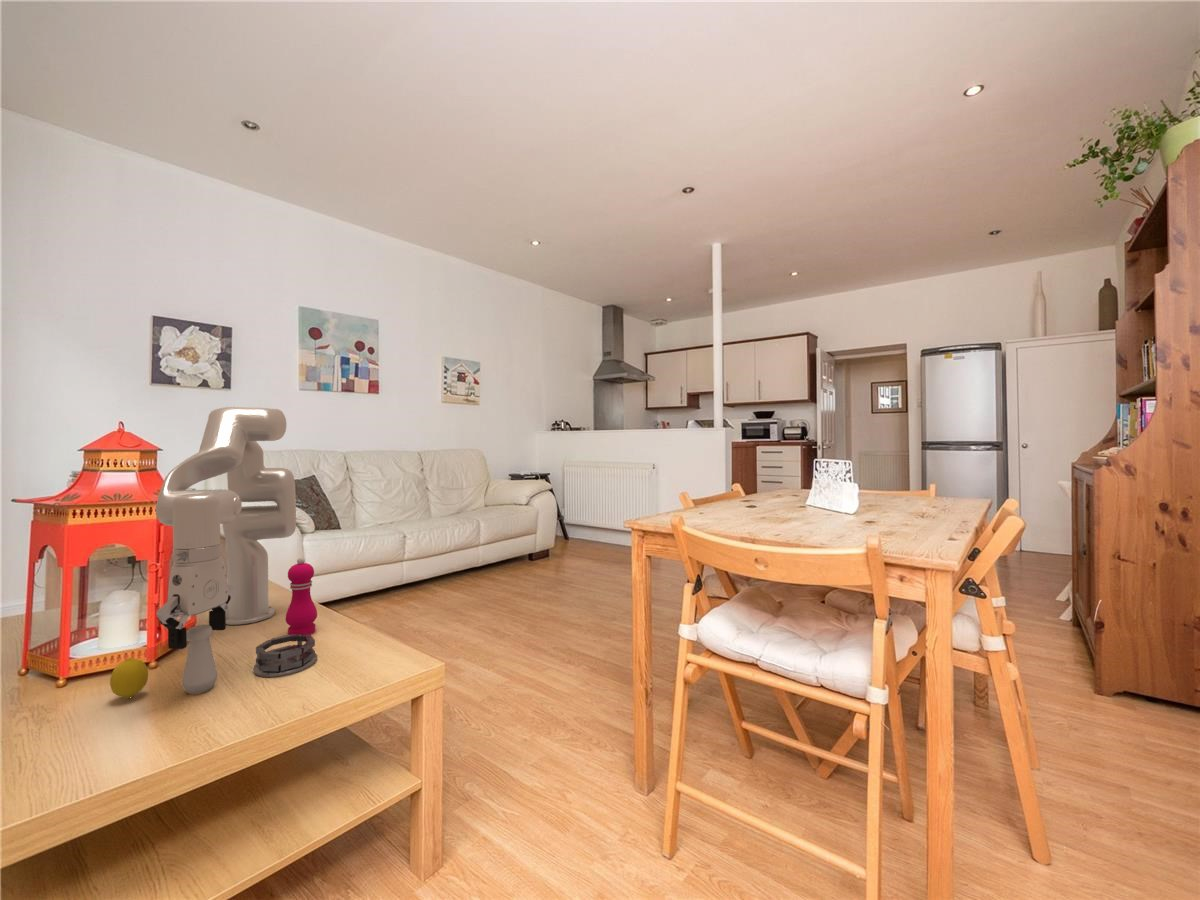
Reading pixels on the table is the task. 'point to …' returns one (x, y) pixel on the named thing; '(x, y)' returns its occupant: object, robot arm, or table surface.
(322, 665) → the table surface
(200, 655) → the salt shaker
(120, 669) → the lemon
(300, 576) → the pepper mill
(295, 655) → the collar stand
